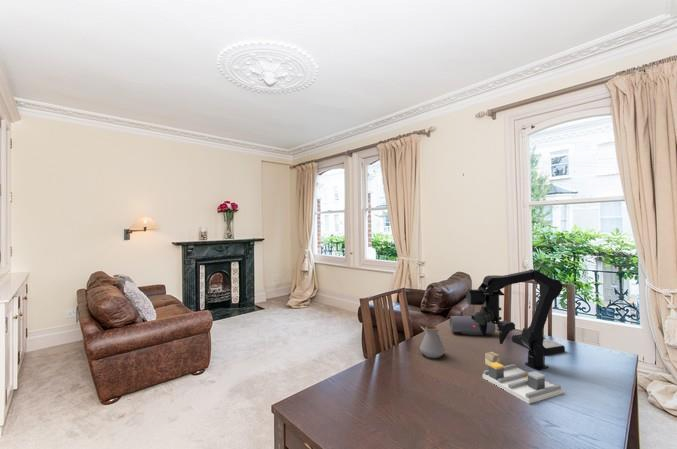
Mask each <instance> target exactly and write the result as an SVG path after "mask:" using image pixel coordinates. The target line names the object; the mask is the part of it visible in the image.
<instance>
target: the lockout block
mask: <svg viewBox="0 0 677 449" xmlns="http://www.w3.org/2000/svg"><path fill="white" fill-rule="evenodd" d="M484 354H485V355H484V358H485V359H484V362H485V363H484V365H486V366H488V364H489V363H493V362H497V363H499V364H501V363H500V354H499V353H497V352H496V353H495V352H493V351H488V352H484Z"/></svg>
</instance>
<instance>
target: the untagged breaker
mask: <svg viewBox="0 0 677 449" xmlns="http://www.w3.org/2000/svg"><path fill="white" fill-rule="evenodd" d="M545 379H546V375H545V374H543V373H541V372H539V371H536V370H534V371H530V373H528V386H529V387H531V388H533V389H535V390H540V389H544V388H545V381H546V380H545Z"/></svg>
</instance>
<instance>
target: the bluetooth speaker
mask: <svg viewBox="0 0 677 449" xmlns="http://www.w3.org/2000/svg"><path fill="white" fill-rule="evenodd" d="M494 322H495V321H494ZM449 328H450V332H453V333H454V332H455V333H461V334H463V335H467V334H469V336H482V333H481V330H480V328H479V325H478V324H477V323H476V322H474V320H473V319H472V315H450V316H449ZM496 330H497V328H496V324H493V323H491V322H490V323H487V330H486V334H495V333H496Z"/></svg>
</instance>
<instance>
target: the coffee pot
mask: <svg viewBox="0 0 677 449" xmlns="http://www.w3.org/2000/svg"><path fill="white" fill-rule="evenodd" d="M408 319H409V320H412V321H413V322H414V323H415V324H416V325H417V326H418V327H419V328H420V329H422V331H424V332H425V334H424V337H423V338H422V341H421V344H420V346H419V350H420V352H421V353H422V354H423V355H424V356H425V357H426V358H430V359H439V358H440V357H441V356H443V354H445V351H446V349H445V347H444V345H443V342H442V339H441V338H440V335H439V331H440V328H439V326H434V325H426V326H425V327H423V326H422V325H421V324H420V322H419V321H418V320H416V319H415V317H413V316H411V315H409V317H408Z"/></svg>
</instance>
